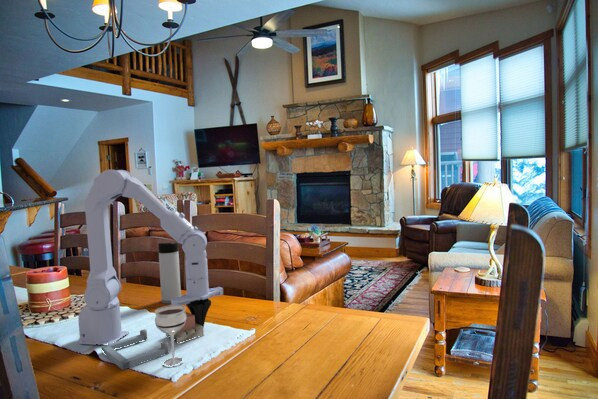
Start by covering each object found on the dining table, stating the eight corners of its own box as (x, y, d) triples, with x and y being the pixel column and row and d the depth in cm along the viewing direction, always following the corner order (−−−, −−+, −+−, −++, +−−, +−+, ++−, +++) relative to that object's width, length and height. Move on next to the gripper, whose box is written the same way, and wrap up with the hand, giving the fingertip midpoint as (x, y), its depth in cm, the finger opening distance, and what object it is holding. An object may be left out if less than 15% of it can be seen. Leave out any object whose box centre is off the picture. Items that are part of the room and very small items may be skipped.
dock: (123, 370, 88) (122, 359, 88) (101, 352, 97) (100, 342, 97) (169, 353, 95) (169, 343, 95) (145, 338, 105) (145, 329, 104)
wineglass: (177, 352, 95) (174, 303, 95) (195, 360, 91) (192, 308, 90) (151, 364, 90) (148, 311, 89) (168, 372, 86) (165, 317, 85)
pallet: (179, 344, 100) (178, 334, 100) (165, 336, 105) (165, 327, 105) (203, 335, 105) (203, 326, 105) (189, 328, 110) (189, 320, 110)
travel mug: (157, 303, 133) (153, 243, 132) (169, 297, 139) (165, 239, 138) (173, 304, 131) (169, 243, 130) (184, 298, 137) (181, 240, 136)
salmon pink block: (181, 331, 102) (180, 319, 102) (173, 327, 105) (172, 316, 105) (195, 326, 105) (194, 315, 105) (187, 323, 108) (186, 312, 108)
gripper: (179, 286, 99) (182, 339, 100) (228, 274, 110) (231, 323, 111) (165, 281, 104) (169, 332, 105) (214, 270, 115) (216, 317, 116)
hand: (199, 327), depth 108 cm, fingers closed
